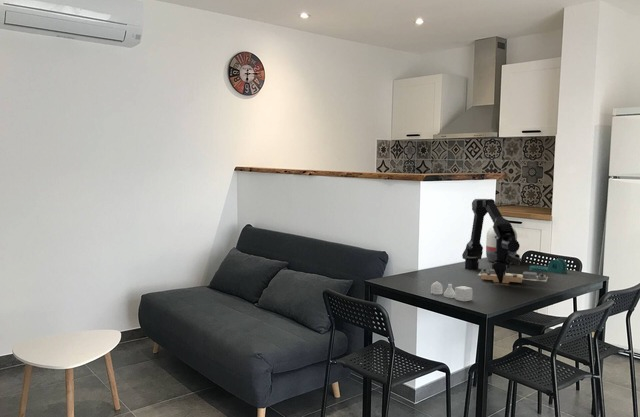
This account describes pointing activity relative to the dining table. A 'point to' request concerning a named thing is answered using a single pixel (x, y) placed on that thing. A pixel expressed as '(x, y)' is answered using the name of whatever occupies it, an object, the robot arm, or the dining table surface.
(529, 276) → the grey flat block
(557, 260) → the teal handled piece
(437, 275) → the dining table surface
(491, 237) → the vase
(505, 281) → the master link
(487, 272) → the lower chain end
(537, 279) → the board
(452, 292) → the container set
